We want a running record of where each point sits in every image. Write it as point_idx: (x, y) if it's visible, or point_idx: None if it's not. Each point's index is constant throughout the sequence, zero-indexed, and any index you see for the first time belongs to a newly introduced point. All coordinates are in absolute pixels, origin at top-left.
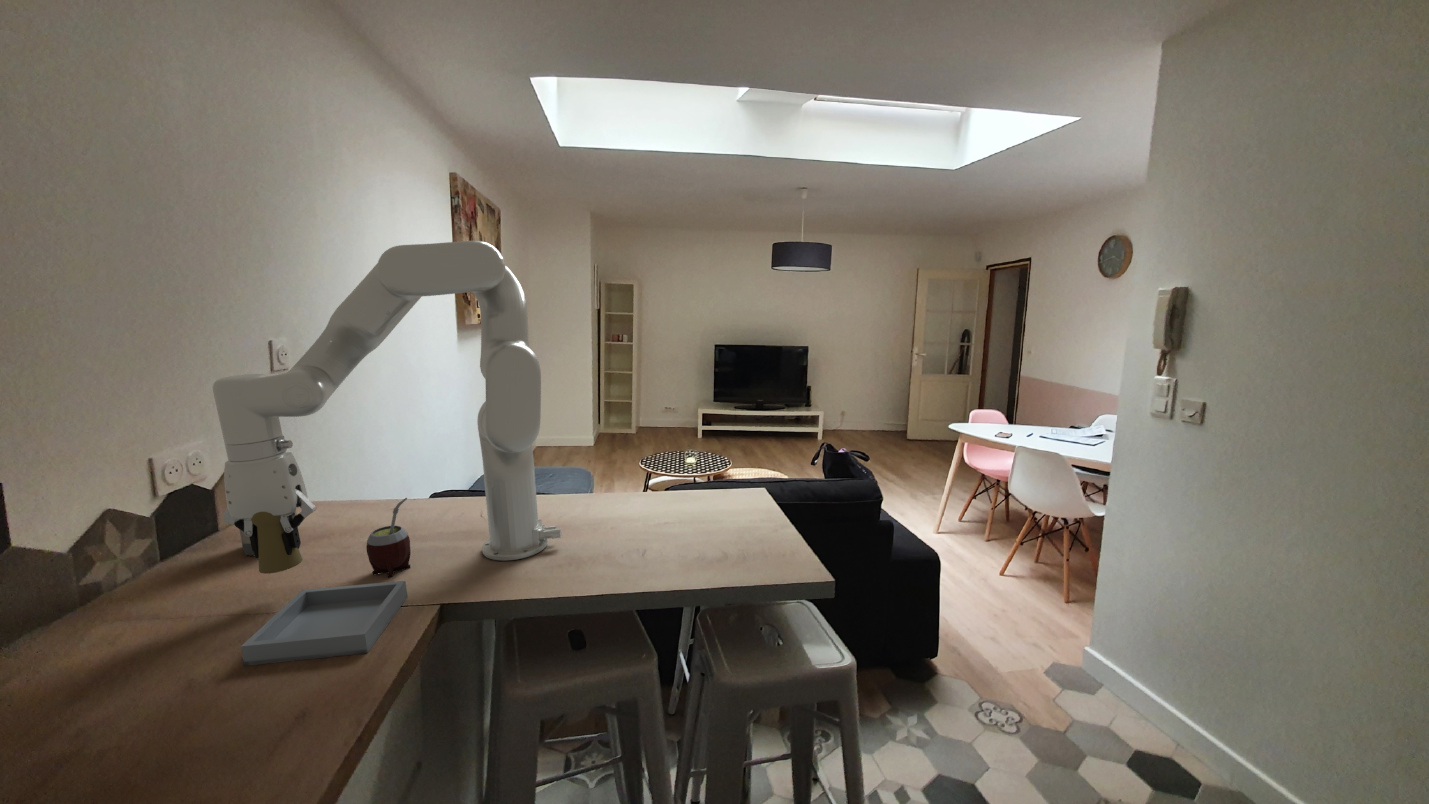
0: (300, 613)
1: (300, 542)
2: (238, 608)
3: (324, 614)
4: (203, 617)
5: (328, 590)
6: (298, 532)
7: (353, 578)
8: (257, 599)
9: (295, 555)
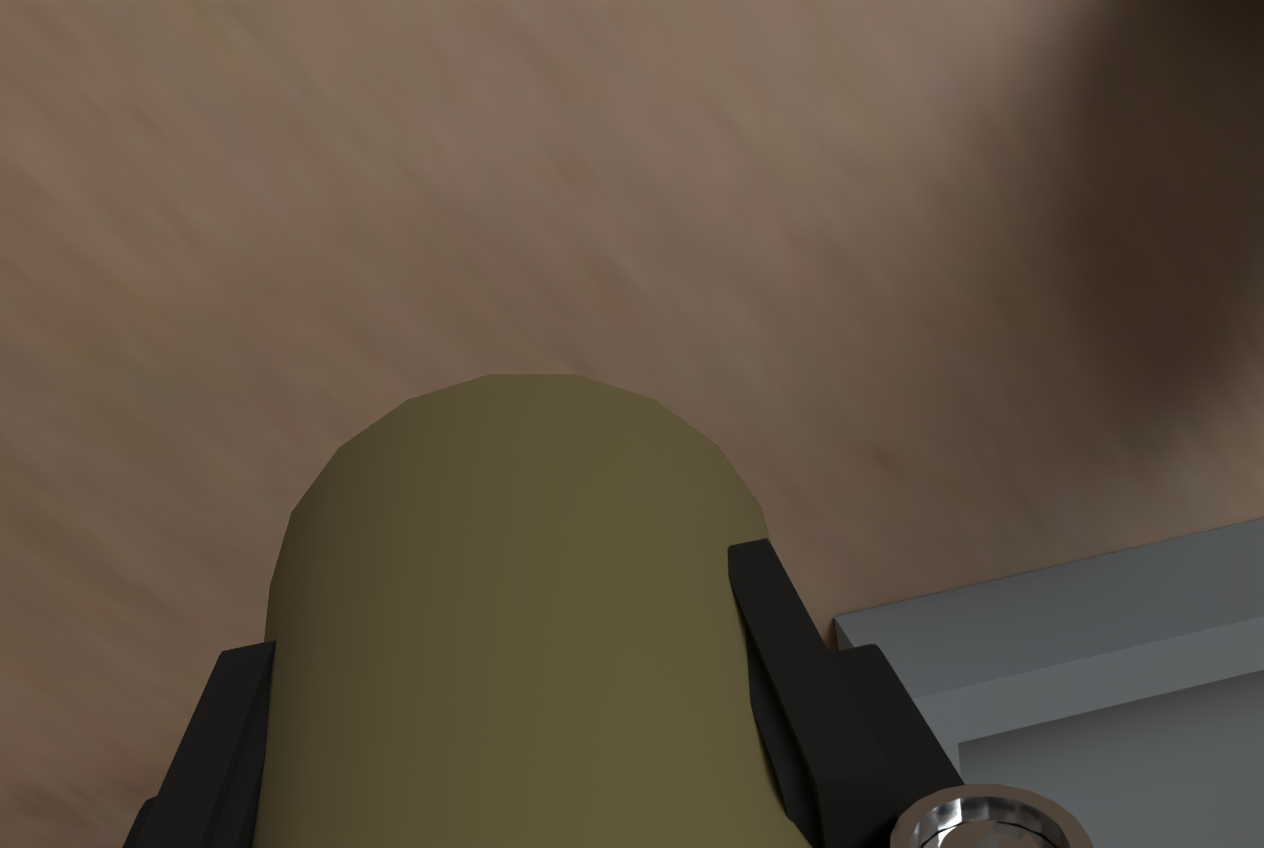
0: None
1: (878, 649)
2: None
3: (1126, 779)
4: (17, 831)
5: (1155, 693)
6: (948, 763)
7: (985, 56)
8: (247, 520)
9: None
